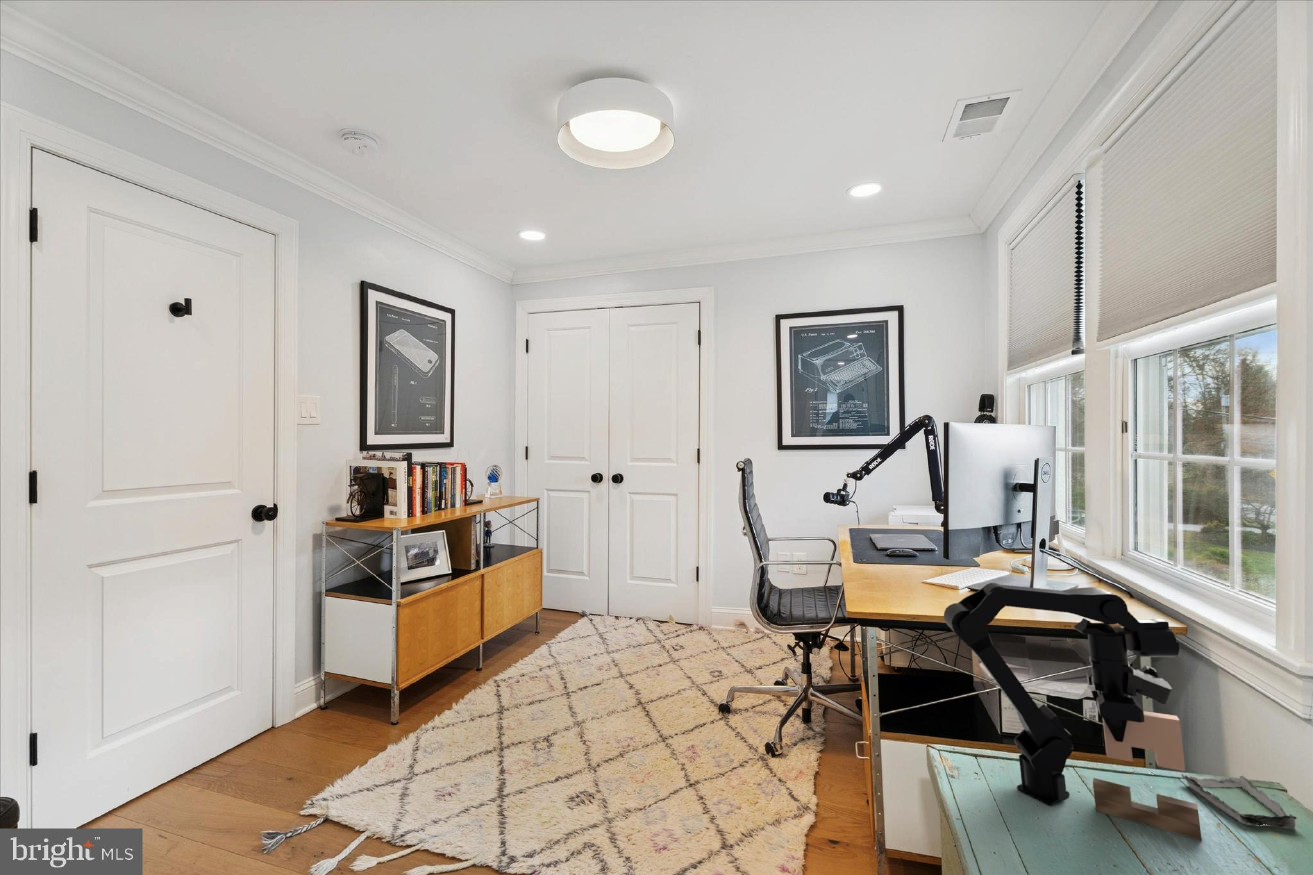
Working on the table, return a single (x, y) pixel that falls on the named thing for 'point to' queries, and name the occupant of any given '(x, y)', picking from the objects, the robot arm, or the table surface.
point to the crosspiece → (1150, 740)
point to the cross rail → (1148, 809)
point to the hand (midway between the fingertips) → (1117, 738)
